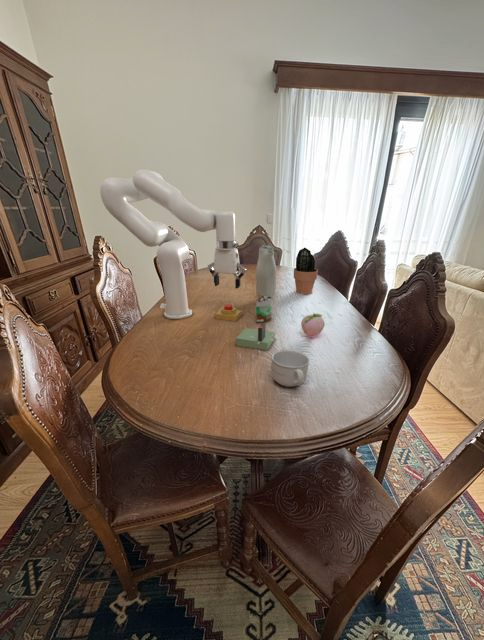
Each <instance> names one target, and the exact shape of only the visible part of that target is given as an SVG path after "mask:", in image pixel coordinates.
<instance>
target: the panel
mask: <svg viewBox="0 0 484 640" xmlns="http://www.w3.org/2000/svg"><path fill="white" fill-rule="evenodd" d="M275 340H276V331H269V330H265V338H264V339H263V340H262V342H261V341H258V328H257V329H256V328H248V327H244V329H243V330H242V331H241V332H240V333H239V334H238V336H236V338H235V342H236V343H235V346H237V347H243V348H250V349H257V350H263V351H269V349H270V347H271V346H272V344H273V342H274V341H275Z"/></svg>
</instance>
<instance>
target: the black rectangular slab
mask: <svg viewBox="0 0 484 640" xmlns="http://www.w3.org/2000/svg"><path fill="white" fill-rule="evenodd" d="M257 330H258V341H261V342H262V340H263V339H264V338H265V331H266V323H260V325H259V326H258V328H257Z"/></svg>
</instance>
